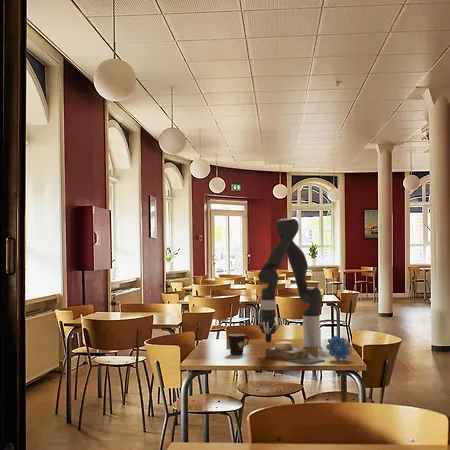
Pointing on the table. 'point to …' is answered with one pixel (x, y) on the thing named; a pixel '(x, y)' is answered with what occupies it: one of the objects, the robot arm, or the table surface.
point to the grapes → (338, 347)
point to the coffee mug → (237, 343)
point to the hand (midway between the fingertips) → (268, 342)
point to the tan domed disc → (283, 345)
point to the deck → (286, 354)
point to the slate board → (307, 360)
